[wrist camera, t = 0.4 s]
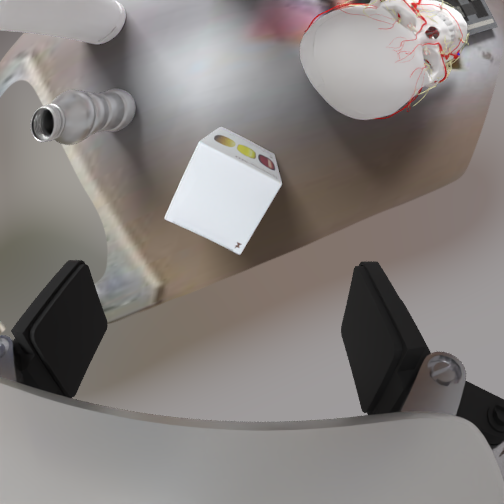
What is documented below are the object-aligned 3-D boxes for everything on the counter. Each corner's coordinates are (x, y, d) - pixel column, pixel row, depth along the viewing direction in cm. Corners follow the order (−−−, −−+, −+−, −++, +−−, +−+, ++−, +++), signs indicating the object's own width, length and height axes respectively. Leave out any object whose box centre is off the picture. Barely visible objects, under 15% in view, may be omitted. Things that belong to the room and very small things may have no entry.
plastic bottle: (105, 132, 41) (25, 162, 23) (102, 92, 38) (18, 101, 20) (141, 126, 41) (70, 151, 23) (138, 84, 38) (64, 84, 20)
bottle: (132, 0, 30) (18, -60, 6) (118, 45, 34) (-15, 20, 9) (90, 1, 29) (-31, -35, 5) (77, 44, 33) (-56, 37, 8)
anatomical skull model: (515, 64, 20) (404, 150, 24) (435, 70, 37) (333, 138, 41) (452, -44, 14) (304, 0, 18) (385, -7, 31) (268, 50, 35)
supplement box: (276, 153, 43) (287, 185, 28) (247, 204, 47) (243, 258, 32) (218, 124, 41) (197, 139, 26) (192, 177, 45) (161, 220, 30)
